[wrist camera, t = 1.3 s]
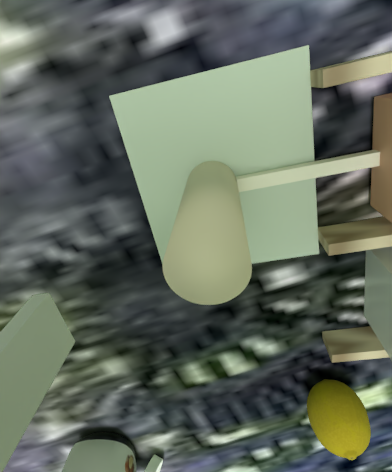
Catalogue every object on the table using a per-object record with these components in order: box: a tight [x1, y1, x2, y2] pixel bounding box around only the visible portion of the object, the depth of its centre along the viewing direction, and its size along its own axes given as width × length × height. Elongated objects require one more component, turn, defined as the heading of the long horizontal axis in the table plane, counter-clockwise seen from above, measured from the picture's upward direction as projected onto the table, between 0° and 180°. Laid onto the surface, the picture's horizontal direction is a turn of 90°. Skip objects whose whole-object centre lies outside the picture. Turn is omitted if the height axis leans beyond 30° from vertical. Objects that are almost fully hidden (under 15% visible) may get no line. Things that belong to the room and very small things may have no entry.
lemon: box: [307, 379, 371, 460], centre depth 31 cm, size 6×6×8 cm
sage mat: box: [109, 45, 319, 264], centre depth 24 cm, size 14×16×1 cm
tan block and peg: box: [163, 93, 392, 305], centre depth 18 cm, size 22×8×12 cm, turn 103°
